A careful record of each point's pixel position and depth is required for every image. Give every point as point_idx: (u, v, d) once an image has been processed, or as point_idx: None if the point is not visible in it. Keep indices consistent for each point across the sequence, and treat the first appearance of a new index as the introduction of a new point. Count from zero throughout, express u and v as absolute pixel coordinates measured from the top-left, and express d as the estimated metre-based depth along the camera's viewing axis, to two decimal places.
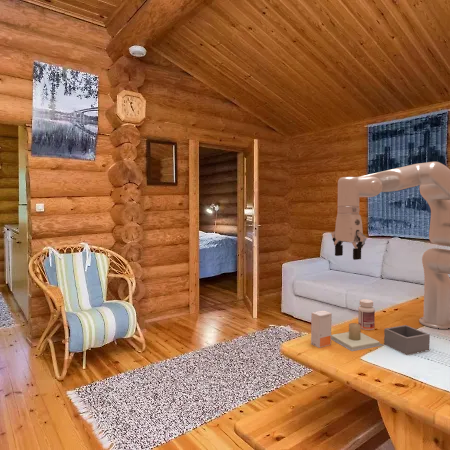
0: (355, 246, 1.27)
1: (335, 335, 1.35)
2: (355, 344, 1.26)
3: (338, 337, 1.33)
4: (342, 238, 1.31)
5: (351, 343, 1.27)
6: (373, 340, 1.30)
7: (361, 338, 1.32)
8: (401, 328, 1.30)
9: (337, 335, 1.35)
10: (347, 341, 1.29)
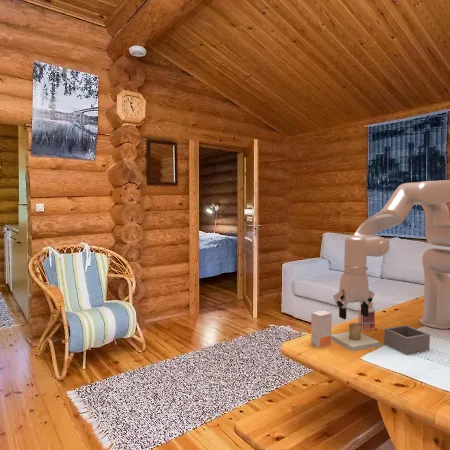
0: (368, 303, 1.32)
1: (335, 335, 1.35)
2: (355, 344, 1.26)
3: (338, 337, 1.33)
4: (357, 299, 1.29)
5: (351, 343, 1.27)
6: (373, 340, 1.30)
7: (361, 338, 1.32)
8: (401, 328, 1.30)
9: (337, 335, 1.35)
10: (347, 341, 1.29)
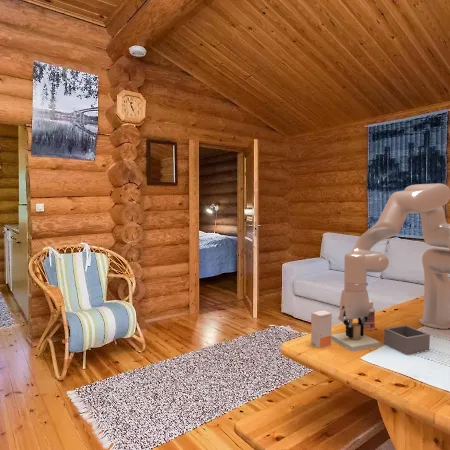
0: (364, 323, 1.31)
1: (335, 335, 1.35)
2: (355, 344, 1.26)
3: (338, 337, 1.33)
4: (358, 315, 1.29)
5: (351, 343, 1.27)
6: (373, 340, 1.30)
7: (361, 338, 1.32)
8: (401, 328, 1.30)
9: (337, 335, 1.35)
10: (347, 341, 1.29)
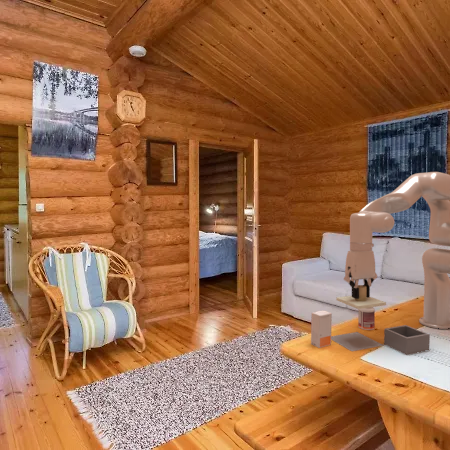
0: (370, 284, 1.30)
1: (341, 297, 1.34)
2: (361, 304, 1.25)
3: (344, 299, 1.32)
4: (364, 276, 1.28)
5: (357, 304, 1.25)
6: (379, 301, 1.28)
7: (367, 299, 1.30)
8: (401, 328, 1.30)
9: (343, 297, 1.34)
10: (353, 302, 1.27)
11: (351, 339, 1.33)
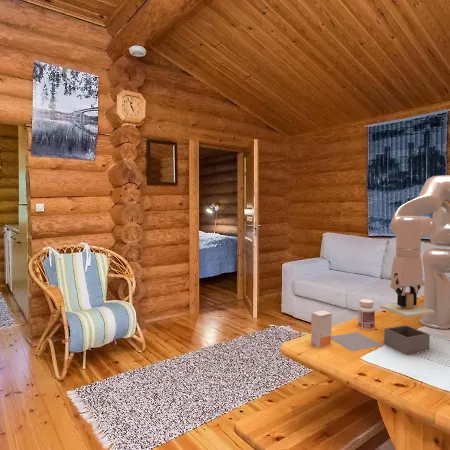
0: (417, 291, 1.24)
1: (385, 305, 1.28)
2: (410, 312, 1.19)
3: (389, 307, 1.26)
4: (411, 283, 1.22)
5: (405, 312, 1.20)
6: (427, 309, 1.23)
7: (414, 308, 1.25)
8: (401, 328, 1.30)
9: (387, 305, 1.28)
10: (400, 310, 1.22)
11: (351, 339, 1.33)
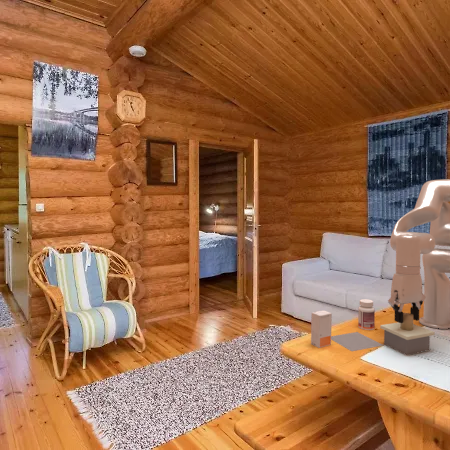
0: (419, 306, 1.25)
1: (385, 325, 1.29)
2: (410, 334, 1.20)
3: (389, 327, 1.27)
4: (411, 300, 1.23)
5: (405, 334, 1.21)
6: (427, 330, 1.23)
7: (414, 328, 1.25)
8: None
9: (387, 325, 1.29)
10: (400, 332, 1.22)
11: (351, 339, 1.33)
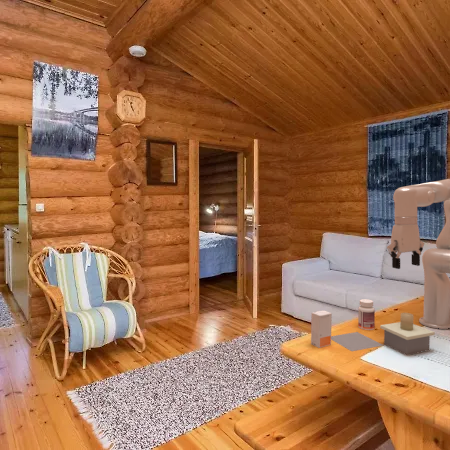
0: (419, 253, 1.35)
1: (385, 325, 1.29)
2: (410, 334, 1.20)
3: (389, 327, 1.27)
4: (410, 248, 1.32)
5: (405, 334, 1.21)
6: (427, 330, 1.23)
7: (414, 328, 1.25)
8: None
9: (387, 325, 1.29)
10: (400, 332, 1.22)
11: (351, 339, 1.33)
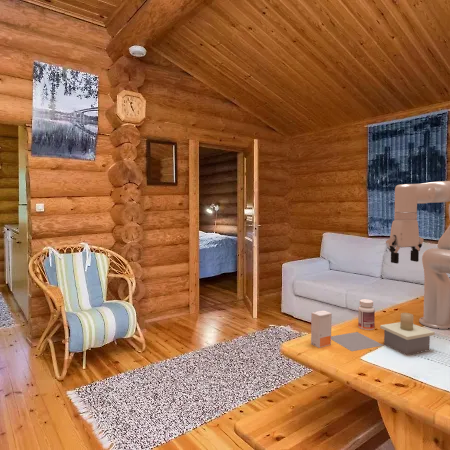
0: (418, 249, 1.37)
1: (385, 325, 1.29)
2: (410, 334, 1.20)
3: (389, 327, 1.27)
4: (408, 244, 1.34)
5: (405, 334, 1.21)
6: (427, 330, 1.23)
7: (414, 328, 1.25)
8: None
9: (387, 325, 1.29)
10: (400, 332, 1.22)
11: (351, 339, 1.33)
